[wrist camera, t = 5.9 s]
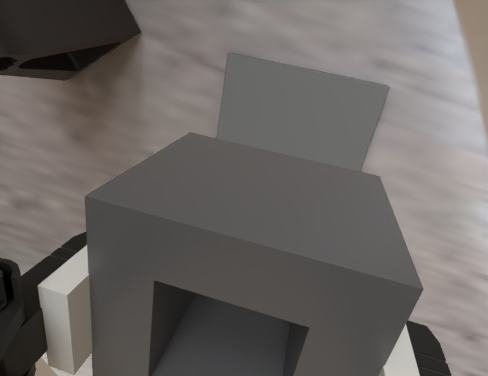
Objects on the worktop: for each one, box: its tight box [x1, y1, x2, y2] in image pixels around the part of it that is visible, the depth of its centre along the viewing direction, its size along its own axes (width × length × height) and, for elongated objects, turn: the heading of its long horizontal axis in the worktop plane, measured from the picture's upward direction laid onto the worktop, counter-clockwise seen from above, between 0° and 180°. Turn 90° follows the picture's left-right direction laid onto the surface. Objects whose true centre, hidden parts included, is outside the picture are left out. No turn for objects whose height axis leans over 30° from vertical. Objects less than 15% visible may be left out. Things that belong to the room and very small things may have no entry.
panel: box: [216, 53, 390, 172], centre depth 26 cm, size 18×12×8 cm, turn 170°
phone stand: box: [0, 0, 140, 80], centre depth 22 cm, size 9×6×12 cm, turn 116°
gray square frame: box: [85, 133, 423, 376], centre depth 11 cm, size 7×7×6 cm
